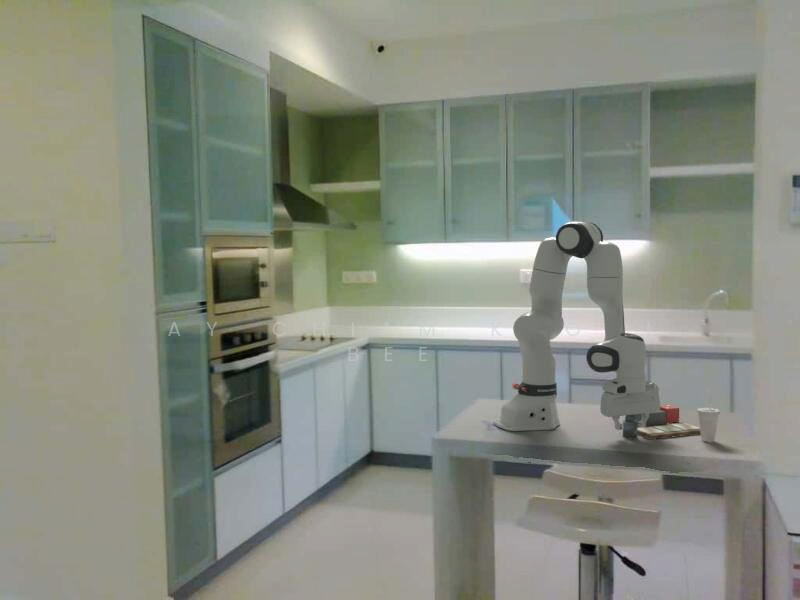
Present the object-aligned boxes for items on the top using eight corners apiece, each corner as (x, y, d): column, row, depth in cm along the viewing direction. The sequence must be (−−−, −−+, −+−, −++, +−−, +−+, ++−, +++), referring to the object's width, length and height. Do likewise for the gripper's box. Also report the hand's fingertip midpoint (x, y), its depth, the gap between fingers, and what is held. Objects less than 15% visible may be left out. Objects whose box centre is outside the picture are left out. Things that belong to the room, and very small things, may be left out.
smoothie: (723, 442, 210) (725, 397, 209) (706, 444, 208) (707, 398, 207) (708, 437, 216) (709, 393, 215) (691, 438, 214) (692, 394, 213)
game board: (650, 439, 214) (650, 435, 214) (630, 431, 224) (630, 427, 223) (705, 433, 221) (705, 429, 220) (683, 426, 230) (683, 421, 230)
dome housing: (643, 428, 227) (643, 414, 226) (626, 422, 235) (626, 408, 235) (665, 426, 230) (665, 411, 229) (648, 420, 238) (648, 406, 238)
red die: (666, 423, 233) (667, 408, 233) (657, 420, 238) (657, 405, 238) (679, 422, 235) (679, 407, 235) (669, 419, 240) (669, 404, 239)
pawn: (628, 439, 215) (628, 415, 214) (619, 435, 219) (620, 412, 218) (640, 437, 216) (640, 414, 216) (631, 434, 220) (631, 411, 220)
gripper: (651, 381, 223) (651, 422, 224) (597, 385, 216) (597, 428, 217) (665, 384, 217) (664, 427, 218) (609, 389, 210) (609, 433, 211)
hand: (630, 428), depth 217 cm, fingers open, 7 cm apart
